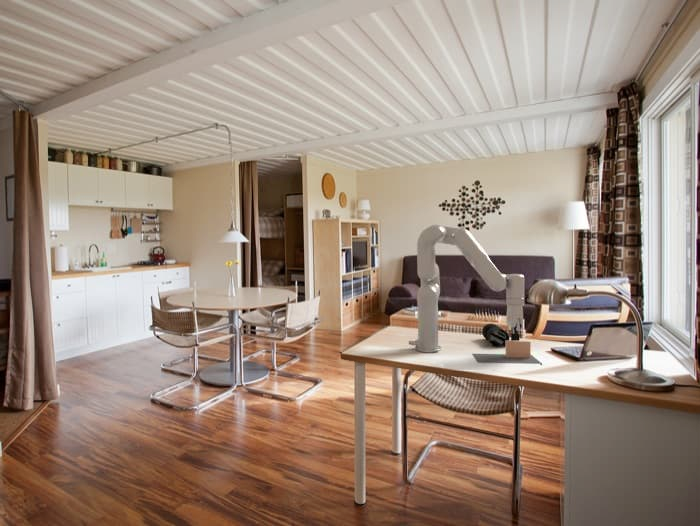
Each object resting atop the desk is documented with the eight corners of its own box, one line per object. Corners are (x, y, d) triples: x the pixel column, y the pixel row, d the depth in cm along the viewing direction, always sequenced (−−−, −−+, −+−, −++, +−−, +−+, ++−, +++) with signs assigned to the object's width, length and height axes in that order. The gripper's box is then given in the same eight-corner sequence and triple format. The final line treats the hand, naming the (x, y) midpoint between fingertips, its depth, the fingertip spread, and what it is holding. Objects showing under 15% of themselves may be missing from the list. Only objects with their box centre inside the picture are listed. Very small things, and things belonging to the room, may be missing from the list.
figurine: (513, 335, 197) (501, 326, 216) (496, 326, 197) (485, 318, 217) (504, 352, 197) (492, 342, 217) (487, 343, 198) (476, 334, 217)
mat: (477, 363, 173) (477, 362, 173) (471, 354, 187) (471, 353, 187) (542, 364, 170) (542, 363, 170) (531, 355, 184) (531, 354, 184)
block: (506, 357, 180) (506, 341, 180) (505, 355, 182) (505, 340, 182) (530, 357, 179) (530, 341, 178) (528, 356, 181) (528, 340, 181)
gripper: (502, 299, 191) (502, 338, 192) (511, 304, 176) (511, 346, 177) (518, 299, 190) (518, 338, 191) (529, 304, 175) (529, 346, 176)
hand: (515, 342), depth 184 cm, fingers closed
